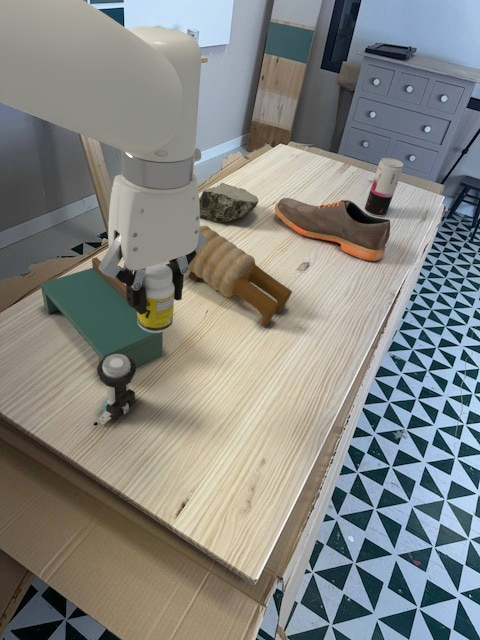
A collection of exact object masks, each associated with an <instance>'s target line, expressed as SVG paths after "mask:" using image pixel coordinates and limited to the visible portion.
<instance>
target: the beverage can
mask: <svg viewBox="0 0 480 640" xmlns="http://www.w3.org/2000/svg"><path fill="white" fill-rule="evenodd" d="M403 170H404V163H403V162H402V161H401V160H398V159H396V158H392V157H383V158H381V159H380V161H379V163H378V166H377V169H376V171H375V175H374V178H373V181H372V184H371V186H370V189H369V193H368V196H367V199H366V202H365V206H364V210H365V213H367V214H368V215H370V216H373V217H384V216H386V215H387V214H388V210H389V208H390V205H391V204H392V203H391V202H392V200H393V197H394V194H395V191H396V189H397V187H398V183H399V181H400V178H401V175H402V172H403Z"/></svg>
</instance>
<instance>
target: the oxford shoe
mask: <svg viewBox="0 0 480 640" xmlns="http://www.w3.org/2000/svg"><path fill="white" fill-rule="evenodd" d="M274 213H275V214H276V216H277V217H278V218H279V219H280V220H281V221H282V222H283V223H284V224H285V225H286V226H288V227H289V228H290V229H291V230H293V231H294V232H296V233H298V234H299V235H301V236H304V237H306V238H312V239H317V240H323V241H330V242H335V243H338V244H340V250H341V251H342V252H344V253H346V254H349V255H350V256H353V257H355V258H357V259H360V260H364V261H369V262H375V261H380V260H381V259H383V257H384V255H385V251H386V245H387V244H388V241H389V238H390V234H391V219H389V218H383V217H378V216H374V215H371V214H369V213H367V212H366V211H363V210H362V209H361V208H360V206H358V205H357V204H356V203H355V202H353V201H351V200H348V199H340V200H337V201H336V202H331V203H327V204H325V205H324V204H320V205H313V204H308V203H306V202H302V201H299V200H296V199H295V198H291V197H290V198H289V197H283V198H281V199H280V200H279V201H278V202H277V203H276V204H275V205H274Z"/></svg>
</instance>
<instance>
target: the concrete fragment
mask: <svg viewBox="0 0 480 640" xmlns="http://www.w3.org/2000/svg"><path fill="white" fill-rule="evenodd" d="M199 203H200V218H203V219H206V220H211V221H212V222H217V223H220V222H223V223H227V222H232V221H235V220H238V219H241V218H245V217H247V216H248V215H250V214H251V213H252V212H253V210H254V209H255V208H256V207H257V205H258V204H259V197H258V196H257V195H255V194H252V193H251V192H249V191H248V190H246V189H245V188H242V187H237V186H234V185H230V184H227V183H224V182H220V183H219V185H216V186H213V187H208V188H205V189H203V190H202V192H201V194H200V196H199Z"/></svg>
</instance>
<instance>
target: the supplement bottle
mask: <svg viewBox="0 0 480 640" xmlns="http://www.w3.org/2000/svg"><path fill="white" fill-rule="evenodd" d="M142 285H143V286H144V287H145V289H146V312H145V313H144V314H142V315H140V314H139V313H138V312H137V322H138V325H139V326H140V327H141V328H142V329H143V330H145V331H147V332H151V333H160V332H163V333H164V332H166V331H167V330H169V329H170V328H171V327H172V325H173V322H174V307H175V306H174V305H175V299H174V291H175V288H174V284H173V282H172V270H171V268H170V267H168V266H167V265H166V264H164V263H160V264H157V265H153V266H150V267H147V268H146V271H145V275H144V279H143V283H142Z"/></svg>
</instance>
